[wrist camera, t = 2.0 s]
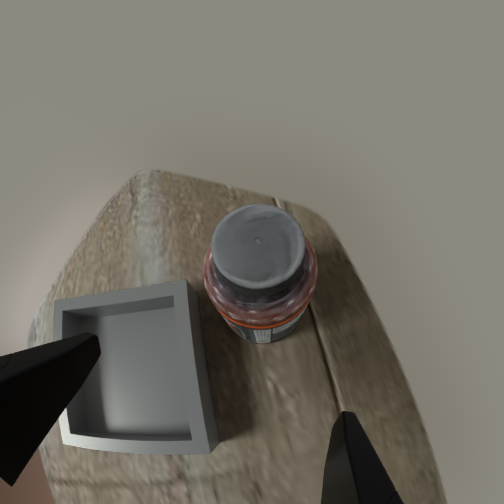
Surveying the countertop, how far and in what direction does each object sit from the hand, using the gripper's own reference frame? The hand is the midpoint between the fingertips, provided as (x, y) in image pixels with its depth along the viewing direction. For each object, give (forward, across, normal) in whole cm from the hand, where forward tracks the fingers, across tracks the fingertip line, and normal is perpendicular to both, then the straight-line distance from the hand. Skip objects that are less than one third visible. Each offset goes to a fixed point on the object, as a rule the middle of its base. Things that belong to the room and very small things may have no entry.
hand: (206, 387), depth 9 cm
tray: (+7, +8, +10) cm, 15 cm away
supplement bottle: (+13, 0, +5) cm, 14 cm away
